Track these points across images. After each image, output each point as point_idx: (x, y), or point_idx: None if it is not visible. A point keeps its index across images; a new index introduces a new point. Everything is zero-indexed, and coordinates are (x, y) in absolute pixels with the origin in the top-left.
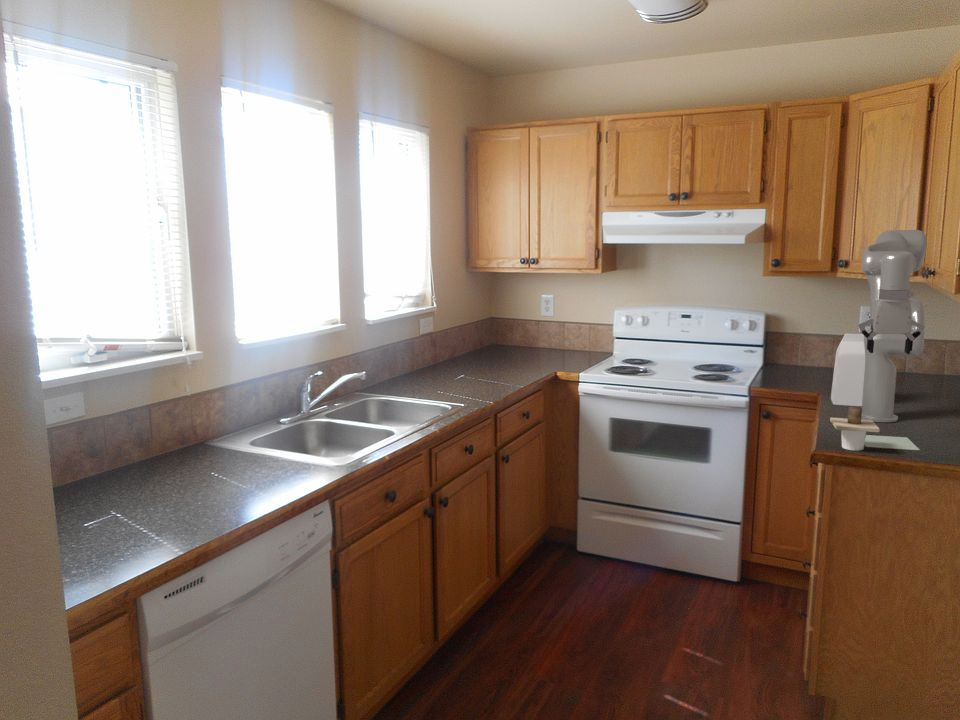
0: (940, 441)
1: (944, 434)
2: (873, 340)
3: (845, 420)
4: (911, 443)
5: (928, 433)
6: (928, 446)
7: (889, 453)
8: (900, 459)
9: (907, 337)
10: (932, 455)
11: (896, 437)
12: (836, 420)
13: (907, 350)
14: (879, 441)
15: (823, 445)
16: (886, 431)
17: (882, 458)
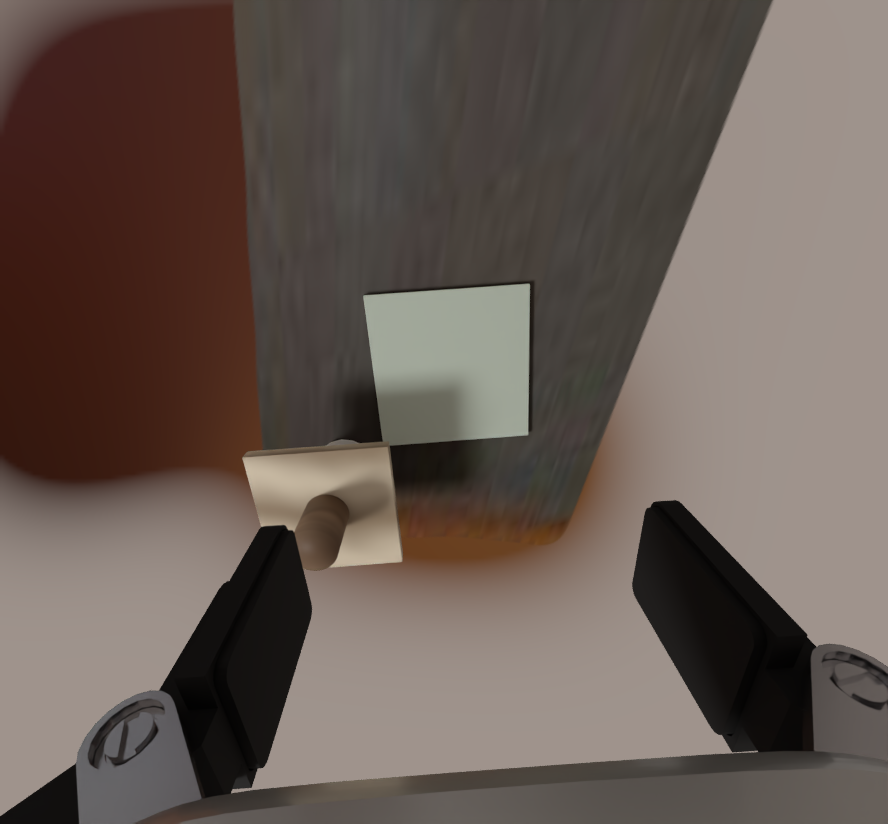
0: (631, 281)
1: (689, 155)
2: (254, 766)
3: (297, 487)
4: (522, 366)
5: (633, 157)
6: (569, 362)
7: (440, 474)
8: (458, 518)
9: (802, 707)
10: (549, 458)
11: (493, 297)
12: (267, 497)
13: (651, 620)
14: (428, 372)
15: (265, 449)
16: (480, 174)
17: (415, 523)
